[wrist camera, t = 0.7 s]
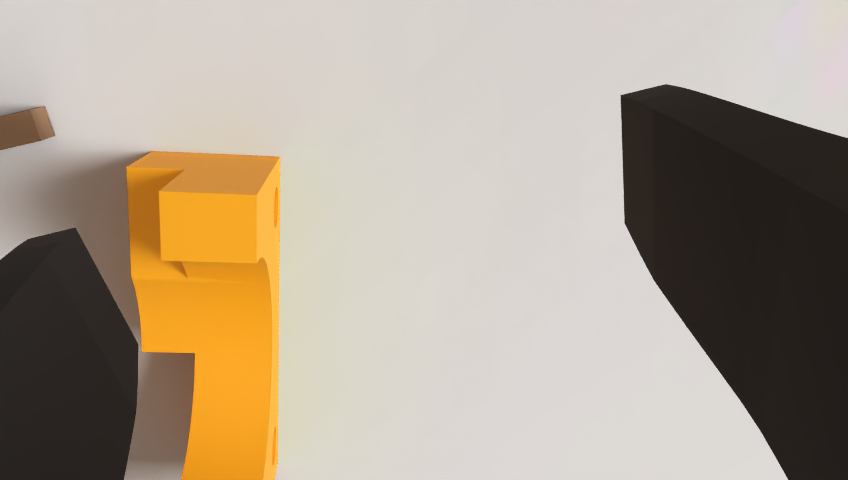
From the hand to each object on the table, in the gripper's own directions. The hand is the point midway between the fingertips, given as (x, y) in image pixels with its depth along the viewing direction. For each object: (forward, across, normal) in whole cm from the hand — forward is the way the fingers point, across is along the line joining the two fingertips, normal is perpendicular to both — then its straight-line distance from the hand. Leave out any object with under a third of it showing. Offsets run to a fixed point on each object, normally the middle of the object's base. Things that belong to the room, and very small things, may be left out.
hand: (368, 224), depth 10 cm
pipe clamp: (+15, +7, +12) cm, 20 cm away
